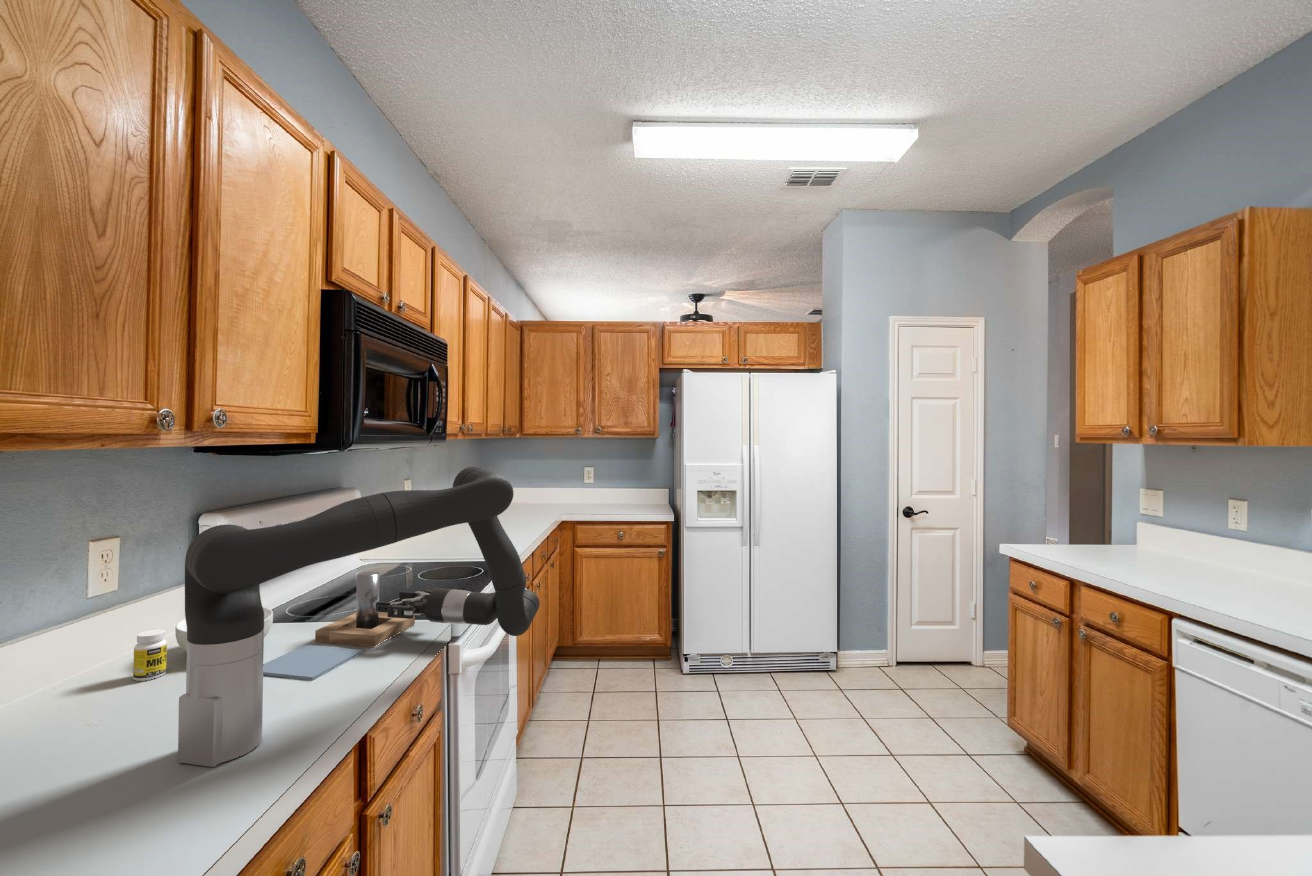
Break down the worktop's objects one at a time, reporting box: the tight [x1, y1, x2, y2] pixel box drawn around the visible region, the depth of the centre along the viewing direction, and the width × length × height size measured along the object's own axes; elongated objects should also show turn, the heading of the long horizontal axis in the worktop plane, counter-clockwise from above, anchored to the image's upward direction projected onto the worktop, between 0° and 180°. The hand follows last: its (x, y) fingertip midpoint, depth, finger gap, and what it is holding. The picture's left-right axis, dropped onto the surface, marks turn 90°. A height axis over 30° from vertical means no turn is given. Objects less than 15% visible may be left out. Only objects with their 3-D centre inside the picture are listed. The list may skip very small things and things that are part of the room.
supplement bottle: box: [132, 629, 168, 682], centre depth 109 cm, size 5×5×8 cm
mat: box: [263, 644, 363, 681], centre depth 117 cm, size 14×14×1 cm
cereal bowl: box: [175, 606, 274, 652], centre depth 122 cm, size 17×17×7 cm
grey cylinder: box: [355, 571, 381, 629], centre depth 134 cm, size 7×7×14 cm
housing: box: [314, 612, 416, 647], centre depth 134 cm, size 15×15×2 cm
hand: (388, 601), depth 133 cm, fingers open, 8 cm apart
